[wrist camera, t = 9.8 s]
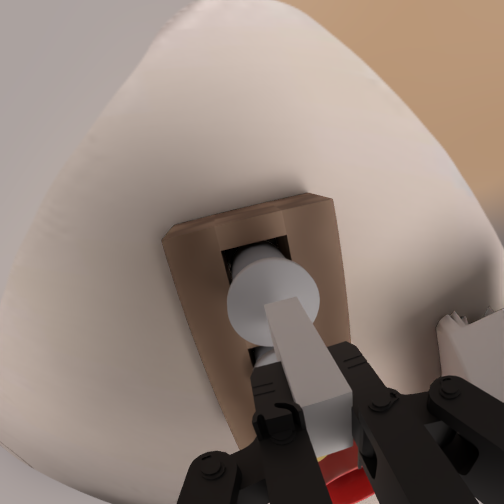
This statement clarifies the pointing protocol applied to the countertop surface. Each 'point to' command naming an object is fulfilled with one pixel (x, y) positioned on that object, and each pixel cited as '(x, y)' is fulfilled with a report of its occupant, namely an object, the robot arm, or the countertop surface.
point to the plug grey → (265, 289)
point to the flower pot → (345, 477)
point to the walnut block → (219, 280)
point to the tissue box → (474, 350)
